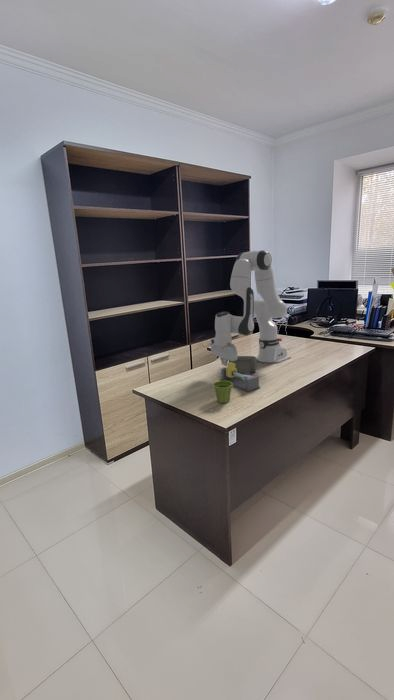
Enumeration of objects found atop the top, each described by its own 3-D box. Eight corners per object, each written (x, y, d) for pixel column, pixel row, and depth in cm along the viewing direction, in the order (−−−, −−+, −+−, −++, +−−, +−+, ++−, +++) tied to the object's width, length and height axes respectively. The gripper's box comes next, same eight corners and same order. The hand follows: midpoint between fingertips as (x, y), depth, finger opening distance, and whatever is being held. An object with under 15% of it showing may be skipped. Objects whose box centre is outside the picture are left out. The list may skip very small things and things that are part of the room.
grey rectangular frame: (219, 380, 194) (219, 369, 192) (232, 376, 199) (232, 365, 197) (247, 392, 175) (246, 380, 174) (260, 387, 180) (260, 376, 178)
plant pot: (222, 406, 161) (221, 389, 158) (209, 400, 168) (208, 384, 166) (237, 401, 166) (236, 384, 164) (224, 395, 173) (223, 379, 171)
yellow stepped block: (226, 376, 192) (225, 363, 190) (232, 374, 194) (232, 361, 192) (230, 377, 189) (230, 365, 187) (237, 376, 191) (236, 363, 189)
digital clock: (257, 371, 205) (257, 354, 202) (253, 376, 197) (253, 358, 194) (231, 369, 212) (231, 352, 209) (226, 374, 204) (226, 356, 201)
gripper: (240, 343, 185) (240, 368, 188) (217, 337, 202) (218, 360, 205) (230, 345, 182) (231, 370, 185) (208, 339, 198) (209, 362, 202)
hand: (224, 365), depth 195 cm, fingers closed
